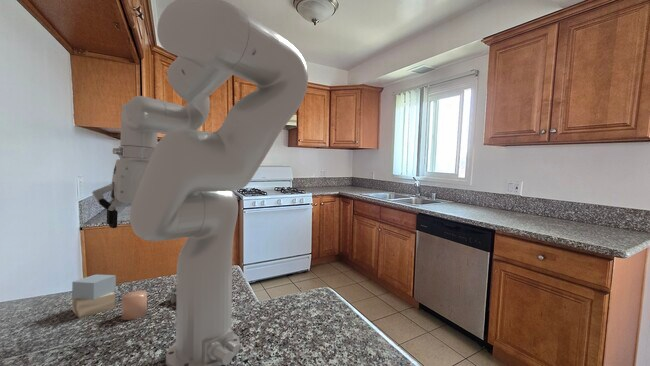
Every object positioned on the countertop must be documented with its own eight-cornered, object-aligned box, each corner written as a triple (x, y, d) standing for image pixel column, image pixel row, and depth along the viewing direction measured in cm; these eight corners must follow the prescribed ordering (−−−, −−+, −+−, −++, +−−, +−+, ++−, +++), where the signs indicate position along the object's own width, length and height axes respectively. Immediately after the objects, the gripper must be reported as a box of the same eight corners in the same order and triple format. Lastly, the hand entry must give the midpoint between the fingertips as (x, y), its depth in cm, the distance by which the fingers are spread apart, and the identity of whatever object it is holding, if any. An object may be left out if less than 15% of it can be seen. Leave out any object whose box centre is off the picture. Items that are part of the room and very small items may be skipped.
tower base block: (114, 309, 71) (115, 293, 71) (79, 319, 66) (79, 302, 66) (106, 302, 75) (106, 287, 76) (72, 311, 70) (72, 295, 70)
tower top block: (115, 290, 73) (115, 275, 73) (93, 299, 67) (93, 283, 67) (95, 289, 74) (95, 274, 74) (72, 298, 68) (72, 281, 68)
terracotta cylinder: (150, 314, 68) (150, 293, 68) (126, 322, 64) (126, 300, 64) (141, 308, 71) (142, 289, 71) (118, 316, 67) (118, 295, 67)
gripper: (99, 150, 59) (96, 231, 59) (182, 158, 73) (180, 223, 73) (89, 152, 63) (87, 227, 63) (169, 158, 77) (167, 220, 77)
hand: (136, 225), depth 68 cm, fingers open, 9 cm apart
